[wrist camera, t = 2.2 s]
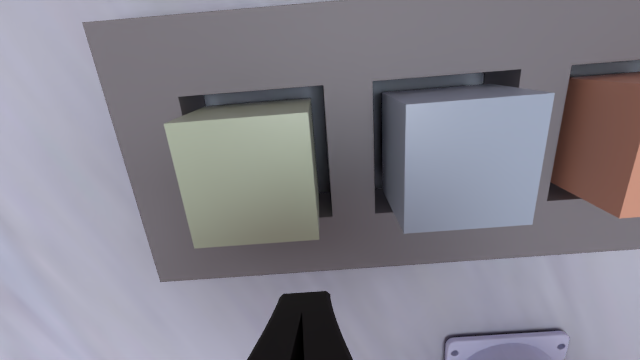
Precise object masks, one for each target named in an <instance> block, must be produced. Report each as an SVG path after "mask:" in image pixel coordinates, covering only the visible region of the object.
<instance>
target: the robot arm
mask: <svg viewBox="0 0 640 360" xmlns="http://www.w3.org/2000/svg"><path fill="white" fill-rule="evenodd" d="M569 341H570V337H569V336H568V335H567V334H566V332H564V331H548V332H533V333H517V334H501V335H486V336H470V337H455V338H450V339H448V340H447V342H446V347H445V360H565V356H566V353H567V349H568V345H569ZM454 350H455V351H454ZM247 360H353V359H352V357H351V354H350V352H349V350H348V348H347V346H346V343H345V341H344V339H343V337H342V334H341V332H340V329H339V326H338V324H337V321H336V318H335V315H334V312H333V308H332V304H331V299H330V294H329V293H328V292H326V291H321V292H306V293H291V294H283V295H282V296H281V297H280V298H279V301H278V303H277V305H276V308H275V310H274V312H273V314H272V316H271V318H270V320H269V322H268V324H267V326H266V327H265V329H264V331H263V333H262V335H261V337H260V338H259V340H258V342H257V344H256V345H255V347H254V349H253V351H252V352H251V354H250V356H249V357H248V359H247Z"/></svg>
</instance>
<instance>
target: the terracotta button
mask: <svg viewBox="0 0 640 360" xmlns="http://www.w3.org/2000/svg"><path fill="white" fill-rule="evenodd" d="M550 182H551V183H553V184H555V185H557V186H559V187H560V188H562V189H564V190H566V191H568V192H570V193H572V194H574V195H576V196H578V197H579V198H581V199H583V200H585V201H587V202H589V203H591V204H593V205H595V206H596V207H598V208H600V209H602V210H604V211H606V212H608V213H610V214H612V215H614V216H615V217H617V218H633V217H640V72H630V73H618V74H605V75H593V76H580V77H570V78H569V83H568V88H567V94H566V99H565V105H564V110H563V116H562V121H561V127H560V132H559V137H558V143H557V148H556V154H555V159H554V165H553V170H552V176H551V181H550Z"/></svg>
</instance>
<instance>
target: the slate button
mask: <svg viewBox="0 0 640 360" xmlns="http://www.w3.org/2000/svg"><path fill="white" fill-rule="evenodd" d="M554 95H555V93H552V92H545V91H538V90H531V89H524V88H517V87H510V86H503V85H496V84H480V85H467V86H455V87H442V88H430V89H417V90H405V91H392V92H382V151H383V192H384V194H385V197H386V199H387V201H388V203H389V205H390V207H391V209H392V211H393V213H394V215H395V217H396V219H397V221H398V223H399V225H400V227H401V229H402V231H403V233H404V234H407V233H421V232H435V231H449V230H463V229H478V228H492V227H506V226H520V225H532V224H533V218H534V212H535V206H536V200H537V195H538V189H539V183H540V177H541V171H542V165H543V160H544V154H545V148H546V142H547V136H548V130H549V125H550V119H551V113H552V107H553V101H554Z"/></svg>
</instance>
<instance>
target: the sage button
mask: <svg viewBox="0 0 640 360" xmlns="http://www.w3.org/2000/svg"><path fill="white" fill-rule="evenodd" d="M164 128H165V132H166V136H167V140H168V144H169V148H170V152H171V156H172V160H173V164H174V168H175V172H176V176H177V180H178V184H179V188H180V193H181V197H182V201H183V205H184V209H185V213H186V217H187V221H188V225H189V229H190V233H191V237H192V241H193V245H194V249H195V248H209V247H223V246H237V245H251V244H266V243H280V242H294V241H308V240H319V190H318V179H317V167H316V155H315V143H314V132H313V120H312V108H311V98H304V99H292V100H279V101H267V102H254V103H242V104H229V105H217V106H205V107H202V108H200V109H198V110H195V111H193V112H190V113H188V114H186V115H183V116H181V117H179V118H176V119H174V120H171V121H169V122H167V123H164Z"/></svg>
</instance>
